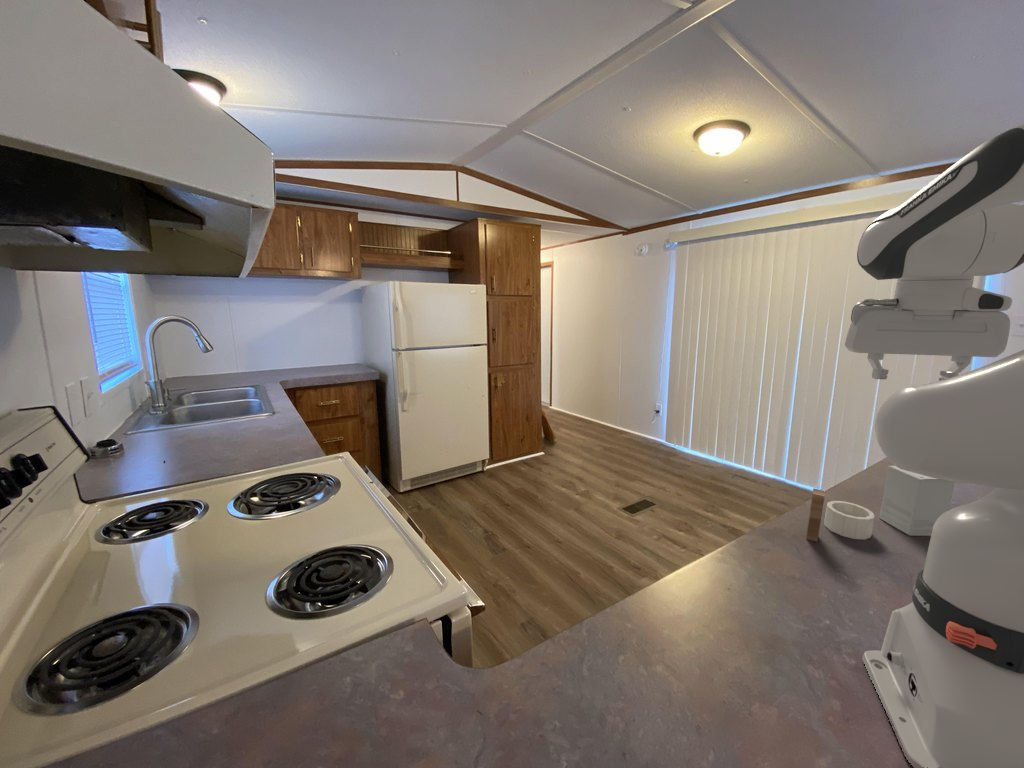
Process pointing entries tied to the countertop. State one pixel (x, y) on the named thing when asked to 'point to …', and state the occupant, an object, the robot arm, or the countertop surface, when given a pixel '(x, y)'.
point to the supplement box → (914, 501)
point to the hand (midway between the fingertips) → (912, 380)
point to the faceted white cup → (849, 520)
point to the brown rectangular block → (815, 515)
